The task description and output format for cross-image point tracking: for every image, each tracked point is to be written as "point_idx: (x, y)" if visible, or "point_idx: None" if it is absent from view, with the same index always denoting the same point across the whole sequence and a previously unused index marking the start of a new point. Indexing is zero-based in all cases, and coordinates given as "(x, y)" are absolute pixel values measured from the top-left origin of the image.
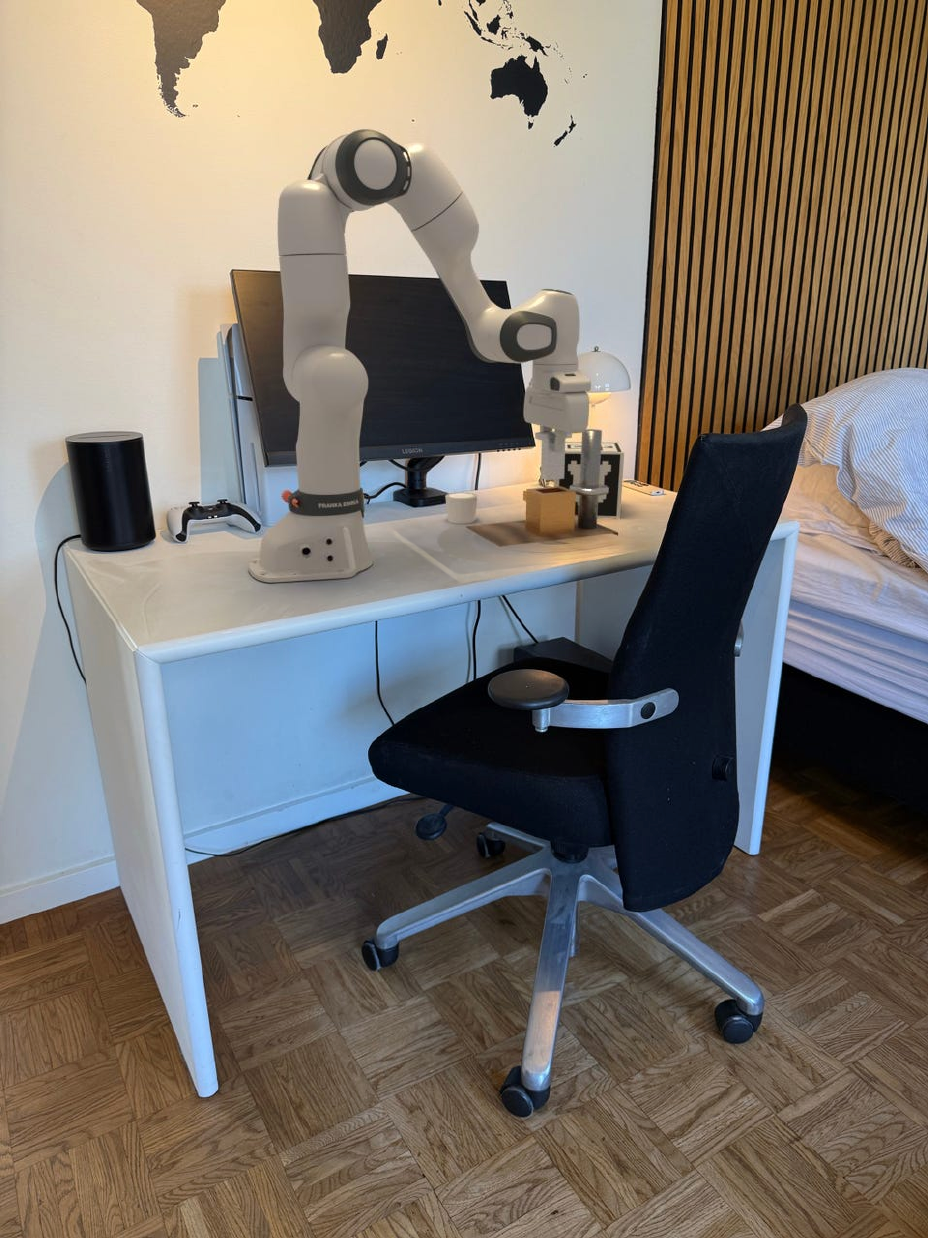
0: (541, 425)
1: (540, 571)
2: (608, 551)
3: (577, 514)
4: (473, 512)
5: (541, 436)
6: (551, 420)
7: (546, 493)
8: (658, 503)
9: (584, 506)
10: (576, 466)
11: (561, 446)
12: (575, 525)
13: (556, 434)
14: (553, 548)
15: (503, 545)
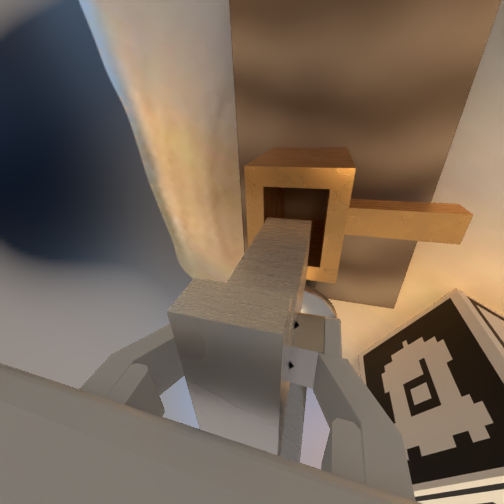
0: (313, 471)
1: (104, 47)
2: (196, 229)
3: (416, 322)
4: None
5: (178, 300)
6: (30, 488)
7: (259, 193)
8: None
9: None
10: (465, 423)
11: None
12: None
13: (122, 363)
14: (237, 156)
15: (232, 6)
